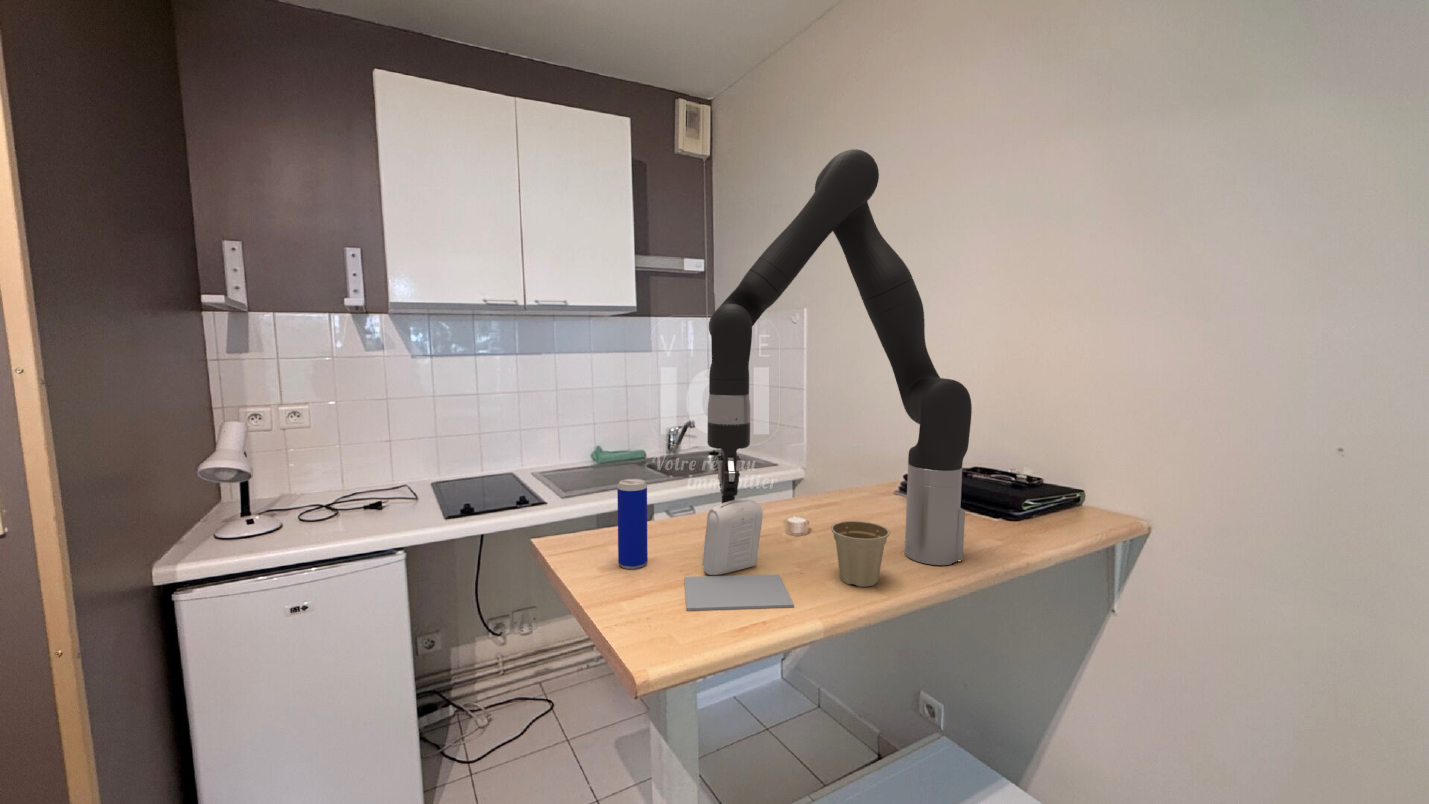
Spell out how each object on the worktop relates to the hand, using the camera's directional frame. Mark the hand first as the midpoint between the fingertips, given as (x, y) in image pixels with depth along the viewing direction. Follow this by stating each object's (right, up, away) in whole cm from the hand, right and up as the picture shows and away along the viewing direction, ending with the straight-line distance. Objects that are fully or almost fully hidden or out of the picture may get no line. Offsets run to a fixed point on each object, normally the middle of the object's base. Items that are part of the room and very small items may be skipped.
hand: (727, 515), depth 97 cm
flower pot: (+22, -10, -6) cm, 25 cm away
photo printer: (0, -9, -2) cm, 9 cm away
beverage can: (-17, -9, 0) cm, 19 cm away
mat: (+1, -10, -12) cm, 15 cm away
